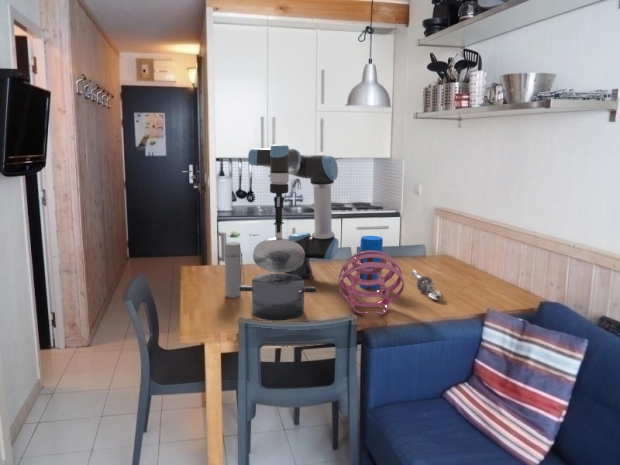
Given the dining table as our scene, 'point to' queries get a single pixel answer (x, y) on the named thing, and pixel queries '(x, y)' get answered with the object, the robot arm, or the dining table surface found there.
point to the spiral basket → (379, 281)
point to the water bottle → (233, 269)
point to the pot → (277, 296)
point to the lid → (279, 255)
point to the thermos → (366, 245)
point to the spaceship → (426, 286)
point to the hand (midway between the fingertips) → (278, 239)
